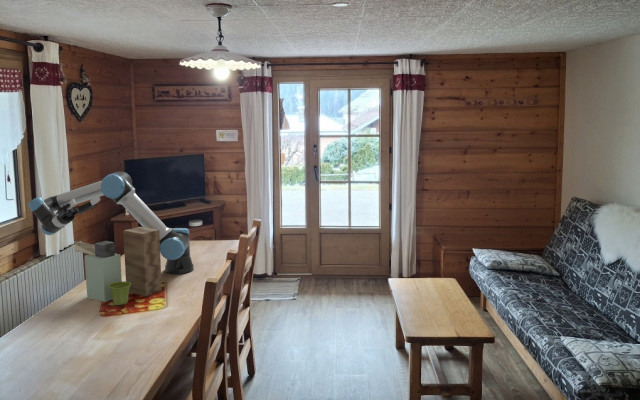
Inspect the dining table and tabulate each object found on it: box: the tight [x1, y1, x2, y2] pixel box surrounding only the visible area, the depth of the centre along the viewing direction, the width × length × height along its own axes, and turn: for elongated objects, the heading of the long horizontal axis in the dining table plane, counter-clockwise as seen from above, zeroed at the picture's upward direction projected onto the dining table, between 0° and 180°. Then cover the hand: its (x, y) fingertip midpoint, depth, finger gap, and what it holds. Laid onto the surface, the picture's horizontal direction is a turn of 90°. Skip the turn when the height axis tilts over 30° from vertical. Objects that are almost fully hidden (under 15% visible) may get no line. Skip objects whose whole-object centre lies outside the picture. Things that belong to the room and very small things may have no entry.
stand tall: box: [122, 226, 163, 297], centre depth 266 cm, size 10×13×30 cm
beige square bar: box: [74, 240, 116, 258], centre depth 259 cm, size 6×22×6 cm, turn 60°
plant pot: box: [109, 280, 131, 306], centre depth 251 cm, size 9×9×9 cm
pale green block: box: [84, 253, 123, 303], centre depth 258 cm, size 10×12×20 cm
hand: (87, 199), depth 266 cm, fingers open, 13 cm apart
